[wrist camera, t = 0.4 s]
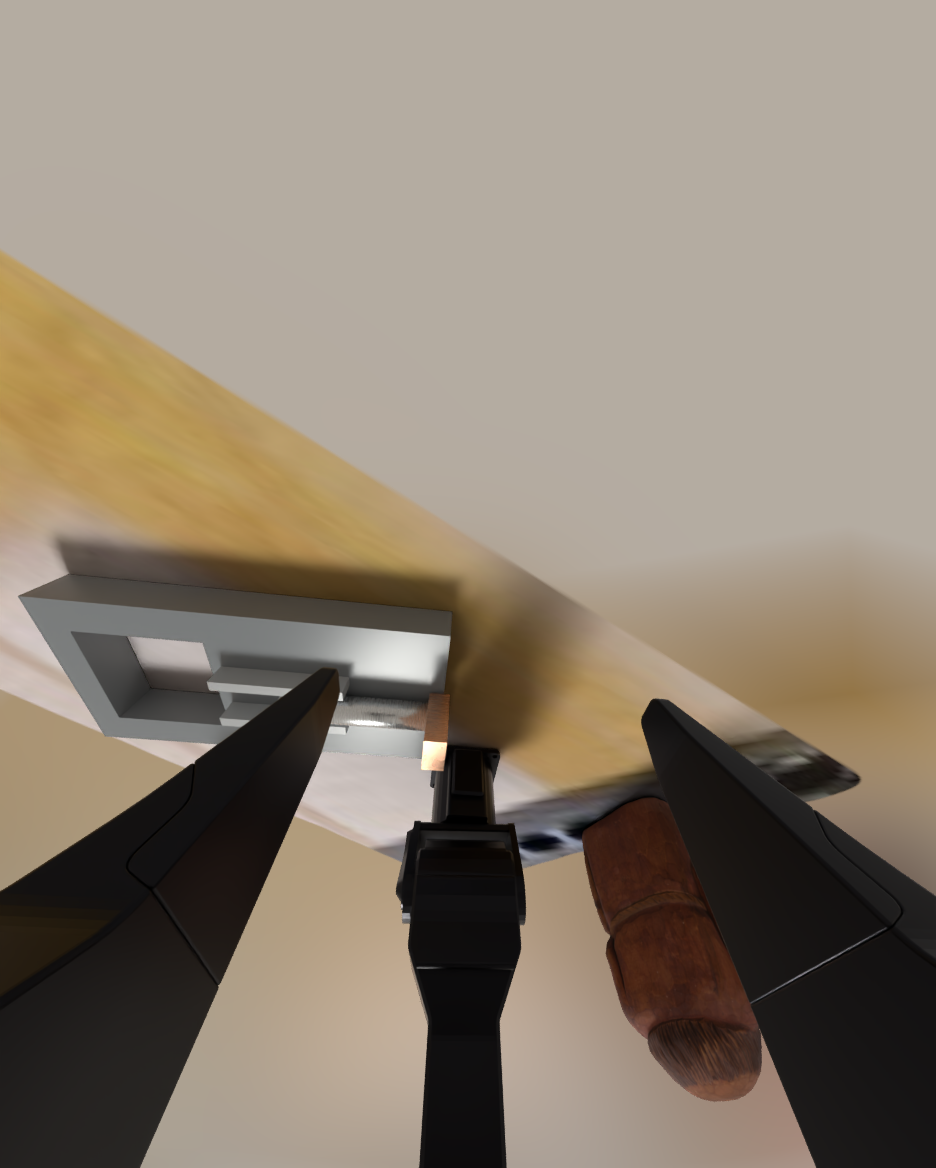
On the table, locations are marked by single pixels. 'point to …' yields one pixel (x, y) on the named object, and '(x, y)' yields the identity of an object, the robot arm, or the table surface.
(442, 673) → the dock block
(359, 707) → the lock pin
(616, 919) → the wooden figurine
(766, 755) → the table surface
